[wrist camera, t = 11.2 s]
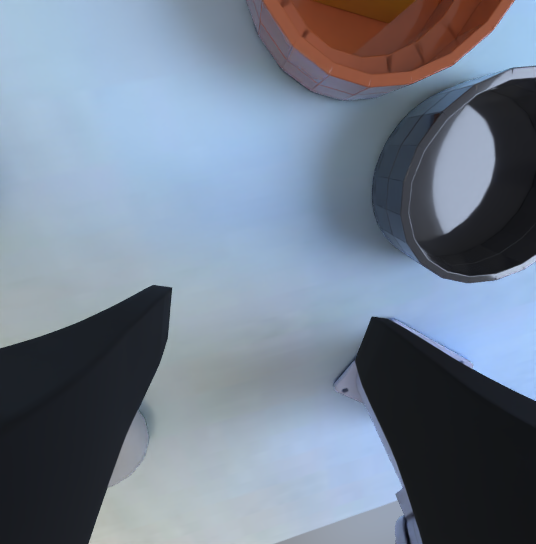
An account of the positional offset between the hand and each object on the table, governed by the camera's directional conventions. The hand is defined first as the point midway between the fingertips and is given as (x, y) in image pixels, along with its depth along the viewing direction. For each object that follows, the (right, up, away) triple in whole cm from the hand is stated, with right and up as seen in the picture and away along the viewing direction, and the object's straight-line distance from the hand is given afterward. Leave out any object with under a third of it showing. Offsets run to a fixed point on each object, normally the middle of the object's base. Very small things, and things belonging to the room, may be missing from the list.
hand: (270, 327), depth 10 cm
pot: (+12, +8, +9) cm, 17 cm away
